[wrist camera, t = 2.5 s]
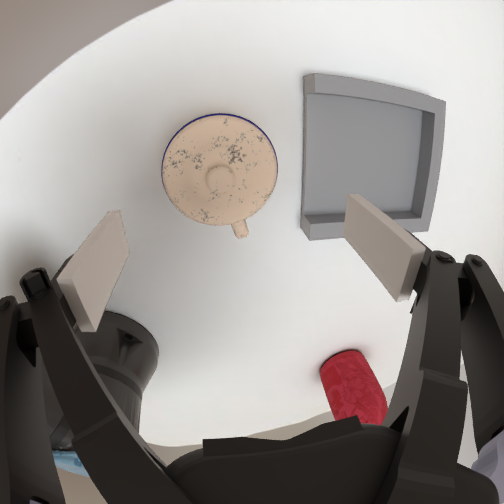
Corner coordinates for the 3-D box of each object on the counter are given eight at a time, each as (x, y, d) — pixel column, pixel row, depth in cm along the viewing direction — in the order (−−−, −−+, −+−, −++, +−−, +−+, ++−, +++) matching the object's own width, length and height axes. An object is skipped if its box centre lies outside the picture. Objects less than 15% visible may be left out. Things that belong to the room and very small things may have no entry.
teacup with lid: (163, 129, 26) (133, 143, 16) (247, 102, 26) (268, 97, 16) (200, 227, 32) (197, 287, 22) (275, 203, 32) (306, 253, 22)
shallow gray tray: (300, 227, 34) (309, 240, 31) (303, 76, 25) (314, 73, 22) (413, 220, 36) (427, 231, 32) (428, 99, 27) (445, 101, 24)
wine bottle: (326, 349, 46) (386, 500, 21) (370, 344, 48) (436, 474, 22) (311, 380, 51) (354, 512, 25) (352, 375, 53) (402, 492, 27)
